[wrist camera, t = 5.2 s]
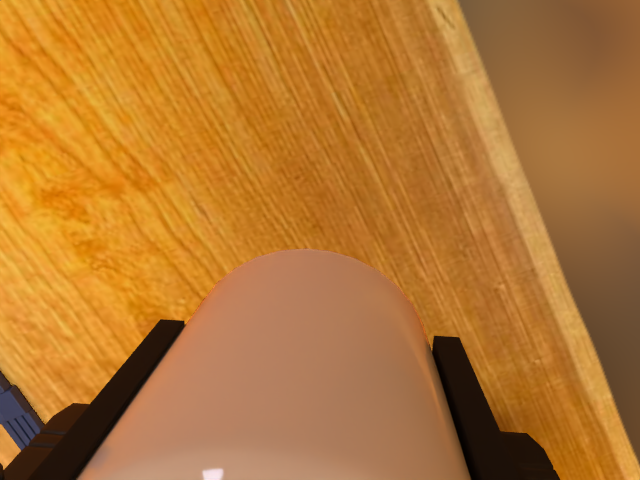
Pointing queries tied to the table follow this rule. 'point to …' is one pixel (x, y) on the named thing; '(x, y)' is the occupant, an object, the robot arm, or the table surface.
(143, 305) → the table surface
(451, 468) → the pill bottle
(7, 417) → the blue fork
